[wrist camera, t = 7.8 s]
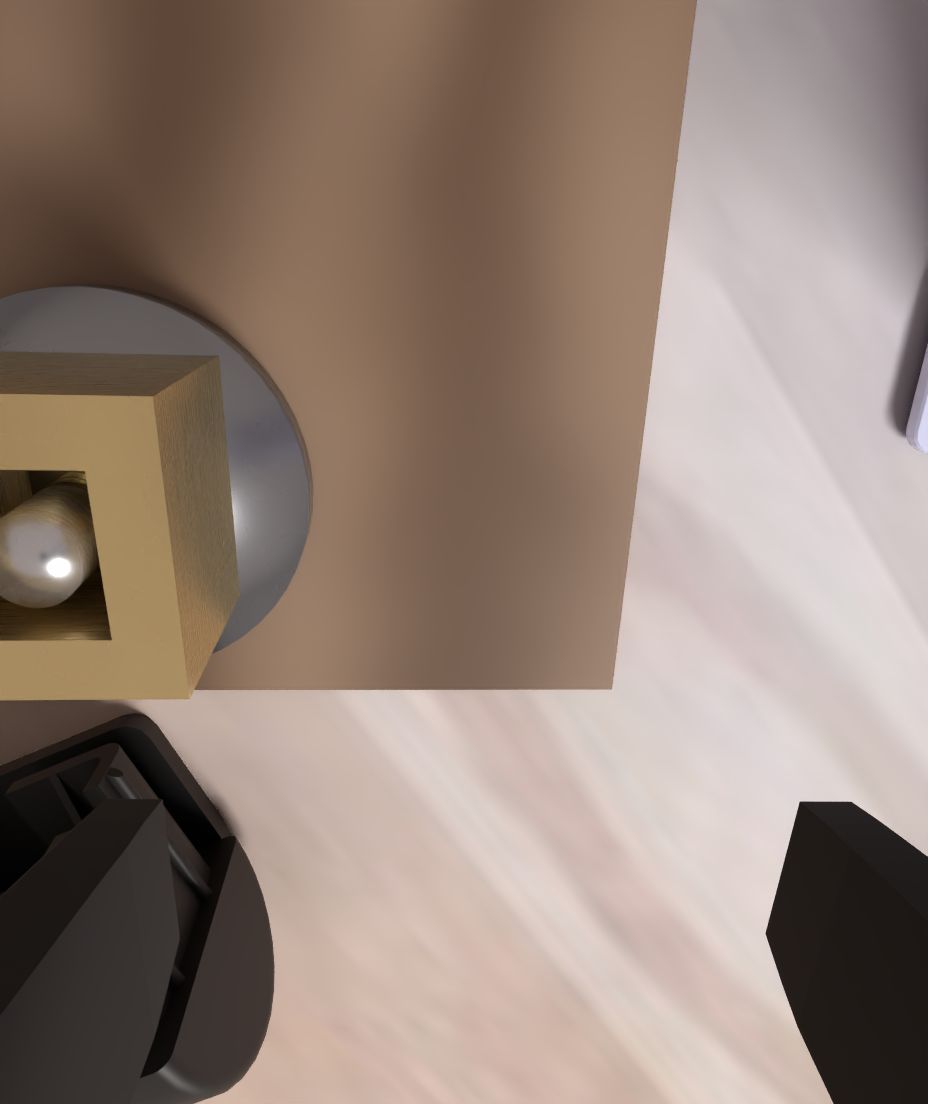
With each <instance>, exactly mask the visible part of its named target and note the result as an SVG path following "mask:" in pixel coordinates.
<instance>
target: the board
mask: <svg viewBox="0 0 928 1104" xmlns="http://www.w3.org/2000/svg"><path fill="white" fill-rule="evenodd" d="M696 2H697V0H0V299H1V298H4V297H7V296H10V295H13V294H16V293H20V292H25V291H31V290H37V289H42V288H48V287H55V286H62V285H81V284H98V285H108V286H118V287H125V288H129V289H133V290H138V291H142V292H146V293H150V294H153V295H156V296H159V297H161V298H164V299H167V300H169V301H172V302H175V303H177V304H179V305H181V306H183V307H185V308H187V309H189V310H191V311H193V312H195V313H197V314H199V315H201V316H203V317H204V318H206V319H207V320H209V321H210V322H212V323H213V324H215V325H216V326H218V327H219V328H221V329H222V330H224V331H225V332H227V333H228V334H229V335H230V336H231V337H233V338H234V339H235V340H236V341H237V342H238V343H240V344H241V345H242V346H243V347H244V348H245V349H247V350H248V351H249V352H250V353H251V354H252V356H253V357H254V358H255V359H256V360H257V361H258V362H259V363H260V364H261V365H262V366H263V368H264V369H265V370H266V371H267V372H268V373H269V375H270V376H271V378H272V379H273V380H274V382H275V383H276V385H277V386H278V387H279V389H280V390H281V392H282V393H283V395H284V396H285V398H286V400H287V402H288V404H289V406H290V407H291V409H292V411H293V413H294V415H295V417H296V419H297V422H298V424H299V427H300V429H301V432H302V434H303V437H304V440H305V443H306V447H307V451H308V455H309V459H310V463H311V471H312V480H313V512H312V518H311V524H310V530H309V535H308V538H307V541H306V544H305V547H304V550H303V553H302V556H301V559H300V562H299V564H298V567H297V570H296V572H295V574H294V576H293V578H292V580H291V582H290V584H289V586H288V588H287V590H286V591H285V592H284V594H283V595H282V597H281V598H280V600H279V601H278V603H277V604H276V605H275V607H274V608H273V609H272V610H271V611H270V612H269V613H268V615H267V616H266V617H265V618H264V619H263V620H262V621H261V622H260V623H259V624H258V625H257V626H255V627H254V628H253V629H252V630H251V631H249V632H248V633H247V634H246V635H244V636H243V637H242V638H240V639H239V640H237V641H235V642H234V643H232V644H230V645H229V646H227V647H225V648H224V649H222V650H220V651H217V652H215V653H213V654H211V656H210V658H209V660H208V662H207V665H206V667H205V669H204V671H203V673H202V675H201V677H200V679H199V681H198V683H197V685H196V687H195V689H194V690H516V689H612V684H613V676H614V668H615V660H616V652H617V644H618V636H619V628H620V620H621V611H622V603H623V595H624V587H625V579H626V571H627V563H628V555H629V546H630V538H631V530H632V522H633V514H634V506H635V498H636V490H637V481H638V473H639V465H640V457H641V449H642V441H643V433H644V425H645V416H646V408H647V400H648V392H649V384H650V376H651V368H652V360H653V352H654V343H655V335H656V327H657V319H658V311H659V303H660V295H661V287H662V278H663V270H664V262H665V254H666V246H667V238H668V230H669V222H670V213H671V205H672V197H673V189H674V181H675V173H676V165H677V157H678V149H679V140H680V132H681V124H682V116H683V108H684V100H685V92H686V84H687V75H688V67H689V59H690V51H691V43H692V35H693V27H694V19H695V10H696Z"/></svg>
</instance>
